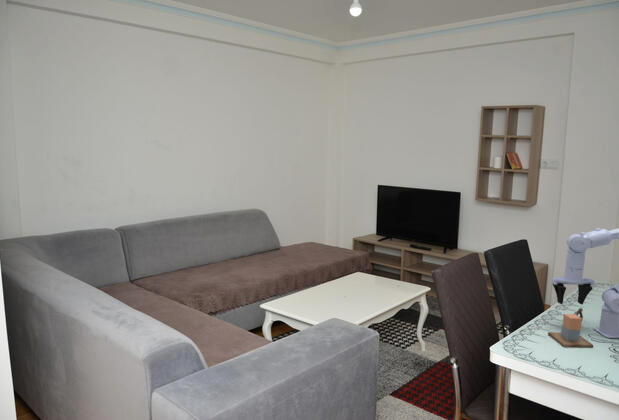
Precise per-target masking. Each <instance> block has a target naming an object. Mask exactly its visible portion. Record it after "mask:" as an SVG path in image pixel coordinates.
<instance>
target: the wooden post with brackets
mask: <svg viewBox="0 0 619 420" xmlns="http://www.w3.org/2000/svg"><path fill="white" fill-rule="evenodd" d="M583 309H584V308H583V307H579V308H578V310H577V311H575V312H574V313H573V314H576V315H577V316H579V317H580V318H582V319H583V318H584V315H583V311H584V310H583Z"/></svg>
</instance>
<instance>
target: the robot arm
mask: <svg viewBox="0 0 619 420" xmlns="http://www.w3.org/2000/svg"><path fill="white" fill-rule="evenodd" d="M617 239H619V227H618V228H615V229H611V230H608V229H606V228H601V227H596V228H595V230H593V231H587V232H584V231H582V232H580V234H578V233H574V234H570V236H568V238H567V240H566V244H567V246H568V248H567V254H566V259H565V269H564V276H562V277H552V278H551V284H552V286H553V288H554V291H555V294H556V300H557V303H558V304H560V305H563V303H564V296H565V292H566V291H567V287H566V286H565V285H576V286H577V287H578V290H577V291H578V294H577V295H578V296H577V303H578V304H580V305H583V304H584V302H585V300H586V299H587V297H588V295H589V294H590V292H591V291H592V290H593V286H594V283H595V280H594V279H592V278H584V267H585V260H586V251H587V250H589V249H594V248H597V247H599V248H600V247H602V246H608V245H610V244H611V242H612V241H614V240H617ZM601 300H602V301H603V302H604V303H603V305H602V307H601V313H600V319H599V327H593V330H594V331H596V332H597V333H599V334H600V335H601V336H604V337H605V338H608V339H619V282H618V283H615V284H614V285H613V286H611V287H610V288H608V289H605V290H604V291H603V292H602V294H601Z"/></svg>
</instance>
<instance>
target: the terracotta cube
mask: <svg viewBox="0 0 619 420" xmlns="http://www.w3.org/2000/svg"><path fill="white" fill-rule="evenodd" d="M579 316H580V315H578V316H577V315H576V314H574V313H563V319H562V325H563V326H565V327H566V328H568V329H569V330H580V331H581V329H582V322H583V318H580V317H579Z"/></svg>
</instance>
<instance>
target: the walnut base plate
mask: <svg viewBox="0 0 619 420" xmlns="http://www.w3.org/2000/svg"><path fill="white" fill-rule="evenodd" d="M547 336H549V337H550V338H551V339H553V340H554V341H555V342H556V343H558V344H559V345H560V346H561V347H563V348H573V349H574V348H575V349H576V348H577V349H582V348H583V349H585V348H587V349H593V348H594V344H593V343H591V342H589V341H588V340H587V339H585V338H584V337H583V336H581V335H580V336H579V341H573V340H566V339H565V338H564V337H562V336H561V331H560V332H559V331H558V332H557V331H554V332H553V331H548V332H547Z"/></svg>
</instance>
